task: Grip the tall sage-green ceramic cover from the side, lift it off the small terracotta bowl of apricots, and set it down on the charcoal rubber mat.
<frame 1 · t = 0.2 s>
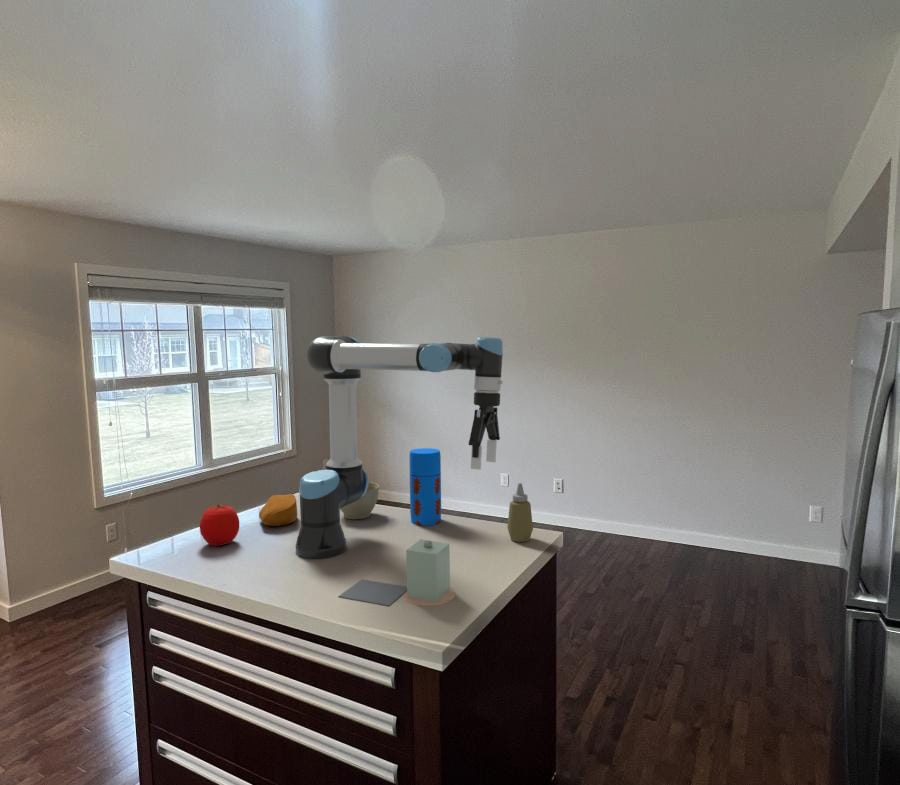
hand: (483, 465, 168), 27 cm above the table, tool pointing down, fingers open, 13 cm apart
squeeze bottle: (520, 540, 185), on the table
cover: (428, 593, 144), point 1 cm above the table, touching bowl
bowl: (428, 596, 144), on the table
red apple: (220, 544, 183), on the table
bread: (277, 522, 206), on the table
mat: (374, 594, 145), on the table
planter bowl: (357, 516, 212), on the table
thermos: (425, 521, 205), on the table
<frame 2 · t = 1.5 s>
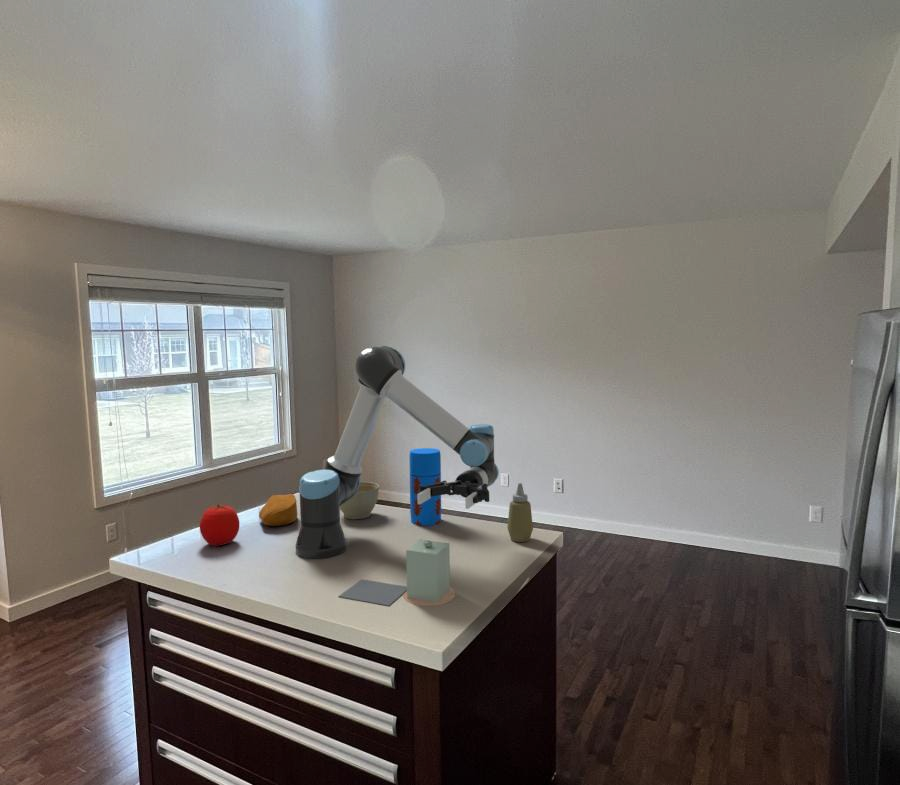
hand: (442, 501, 151), 21 cm above the table, tool horizontal, fingers open, 13 cm apart
nothing on the table moved.
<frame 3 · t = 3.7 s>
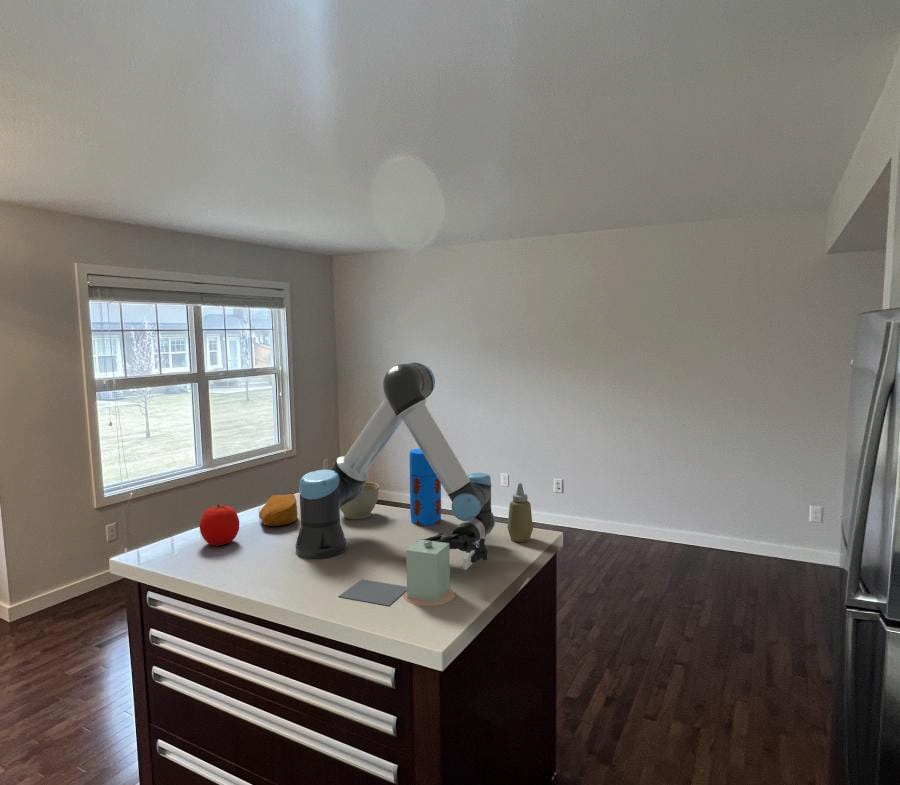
hand: (439, 560, 148), 7 cm above the table, tool horizontal, fingers open, 13 cm apart
nothing on the table moved.
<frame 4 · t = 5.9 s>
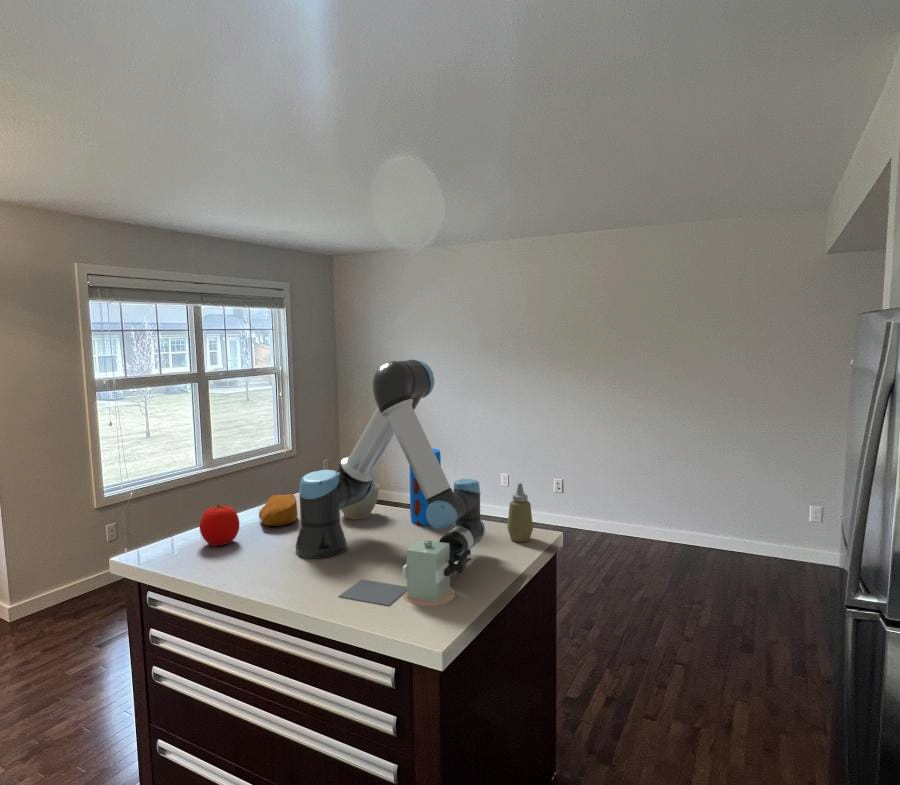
hand: (420, 575, 139), 7 cm above the table, tool horizontal, fingers closed on cover, 8 cm apart
cover: (428, 593, 144), point 1 cm above the table, touching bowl, gripper
everything else where it was.
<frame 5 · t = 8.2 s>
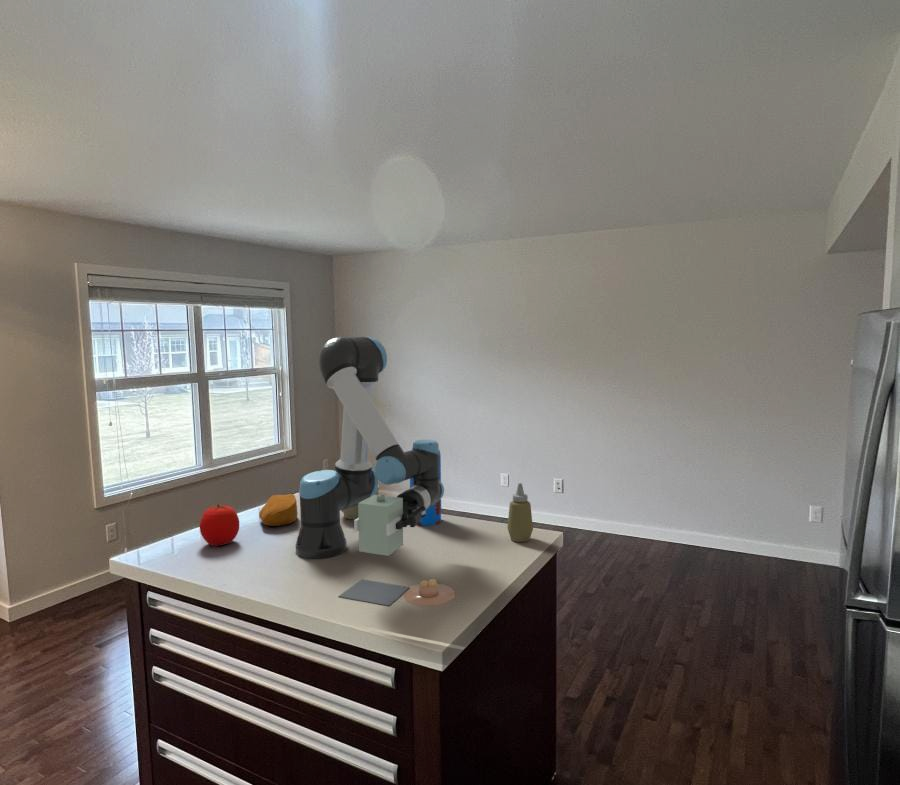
hand: (371, 527, 139), 19 cm above the table, tool horizontal, fingers closed on cover, 8 cm apart
cover: (381, 548, 144), point 12 cm above the table, touching gripper
everything else where it was.
when the fingers open (9 cm above the table, at t = 10.8 s): cover drops 1 cm, resting on mat.
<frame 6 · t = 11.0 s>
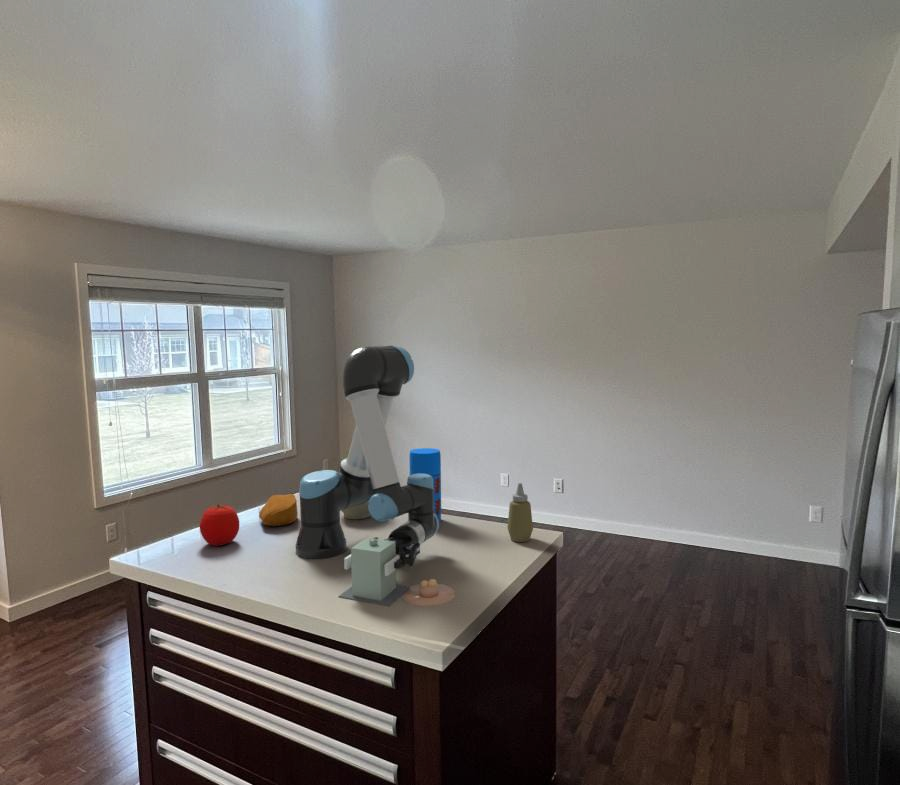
hand: (365, 567, 141), 9 cm above the table, tool horizontal, fingers open, 10 cm apart
cover: (374, 591, 145), point 1 cm above the table, touching mat
everything else where it was.
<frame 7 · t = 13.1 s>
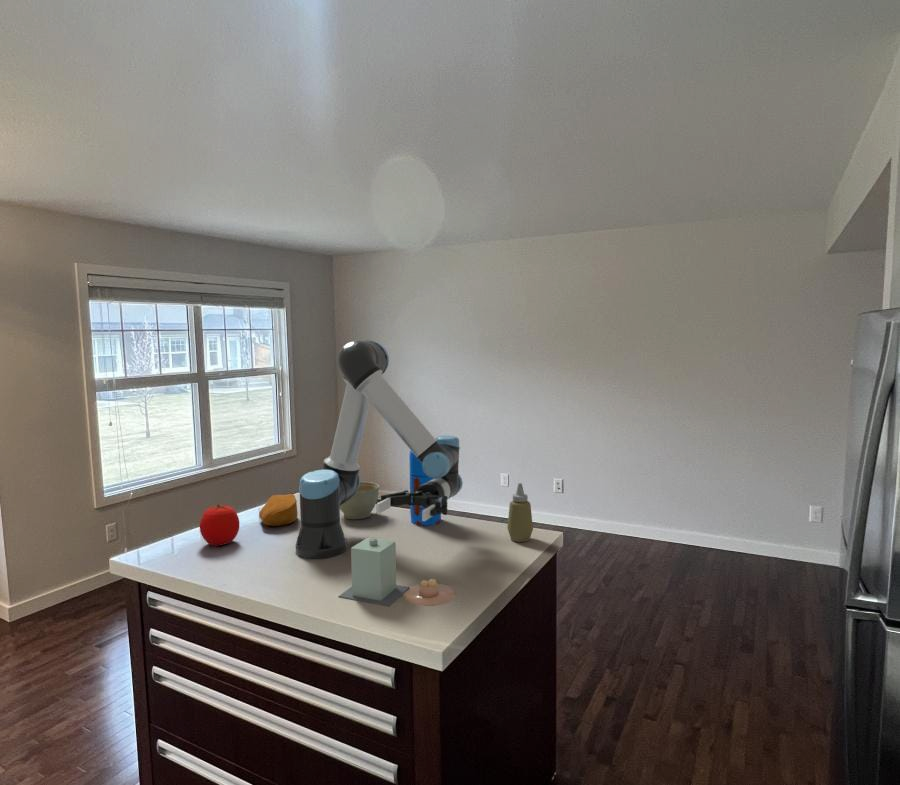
hand: (400, 512, 154), 18 cm above the table, tool horizontal, fingers open, 13 cm apart
nothing on the table moved.
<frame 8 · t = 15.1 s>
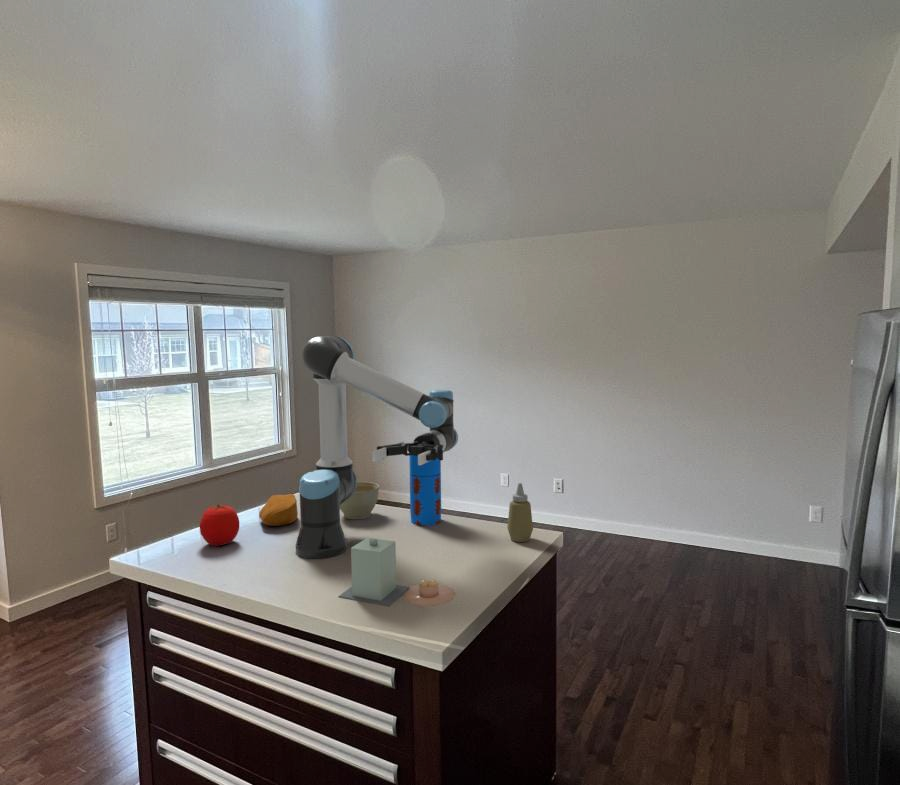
hand: (395, 458, 154), 32 cm above the table, tool horizontal, fingers open, 13 cm apart
nothing on the table moved.
at the end: cover inside the target area on the mat (0.0 cm from its centre), point 0.8 cm above the mat's base; cover tilted 0°; cover 0.0 cm from the mat (horizontally) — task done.
